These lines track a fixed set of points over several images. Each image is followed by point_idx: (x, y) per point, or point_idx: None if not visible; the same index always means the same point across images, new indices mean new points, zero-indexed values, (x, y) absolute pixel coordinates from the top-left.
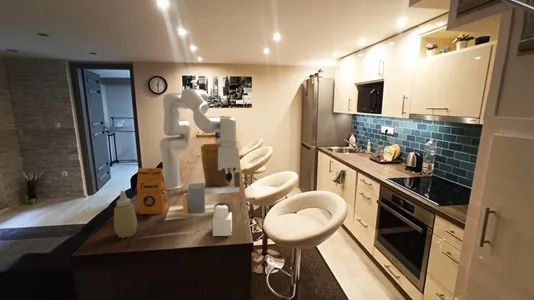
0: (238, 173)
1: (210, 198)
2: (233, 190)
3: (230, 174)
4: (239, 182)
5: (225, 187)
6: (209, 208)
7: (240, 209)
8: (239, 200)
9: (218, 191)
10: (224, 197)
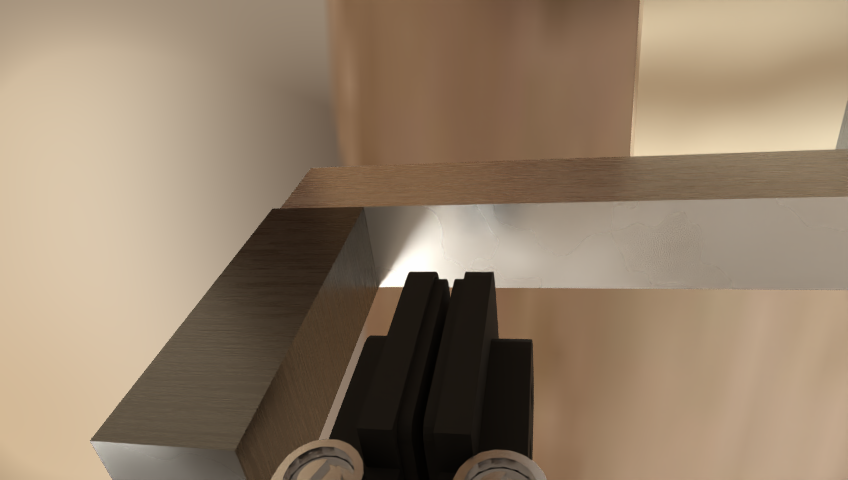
0: (134, 427)
1: (698, 401)
2: (404, 179)
3: (374, 411)
4: (236, 262)
5: (551, 243)
6: (781, 94)
7: (372, 52)
8: (389, 293)
9: (700, 172)
10: (544, 391)
